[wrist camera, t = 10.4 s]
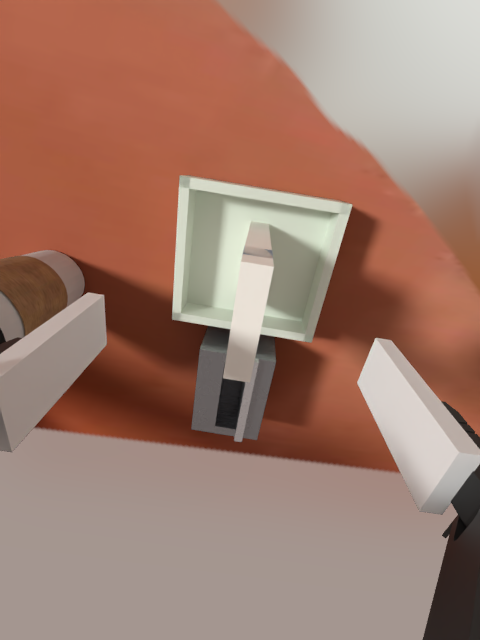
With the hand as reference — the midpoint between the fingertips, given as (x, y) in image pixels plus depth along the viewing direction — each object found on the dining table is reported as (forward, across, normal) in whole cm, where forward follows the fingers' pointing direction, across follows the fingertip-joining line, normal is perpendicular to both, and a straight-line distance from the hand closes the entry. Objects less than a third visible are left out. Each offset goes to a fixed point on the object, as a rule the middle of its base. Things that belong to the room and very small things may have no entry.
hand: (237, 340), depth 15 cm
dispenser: (+16, +1, -12) cm, 20 cm away
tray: (+16, +1, 0) cm, 16 cm away
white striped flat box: (+15, +1, 0) cm, 15 cm away
